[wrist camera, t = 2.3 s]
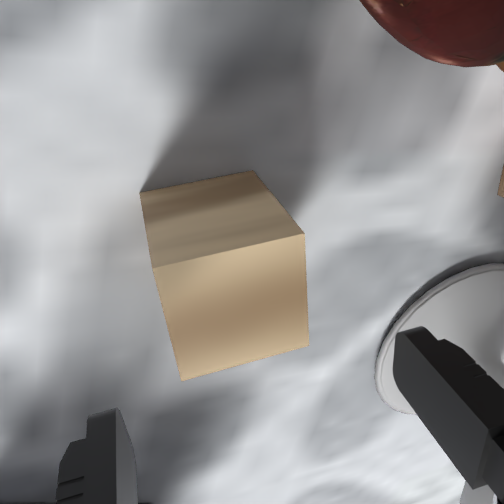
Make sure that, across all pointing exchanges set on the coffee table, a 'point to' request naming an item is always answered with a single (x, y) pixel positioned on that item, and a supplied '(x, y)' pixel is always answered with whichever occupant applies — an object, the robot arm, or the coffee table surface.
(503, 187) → the tower slab
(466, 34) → the decorative turtle
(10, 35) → the coffee table surface
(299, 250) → the oak block
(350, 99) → the coffee table surface
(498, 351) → the chalice
